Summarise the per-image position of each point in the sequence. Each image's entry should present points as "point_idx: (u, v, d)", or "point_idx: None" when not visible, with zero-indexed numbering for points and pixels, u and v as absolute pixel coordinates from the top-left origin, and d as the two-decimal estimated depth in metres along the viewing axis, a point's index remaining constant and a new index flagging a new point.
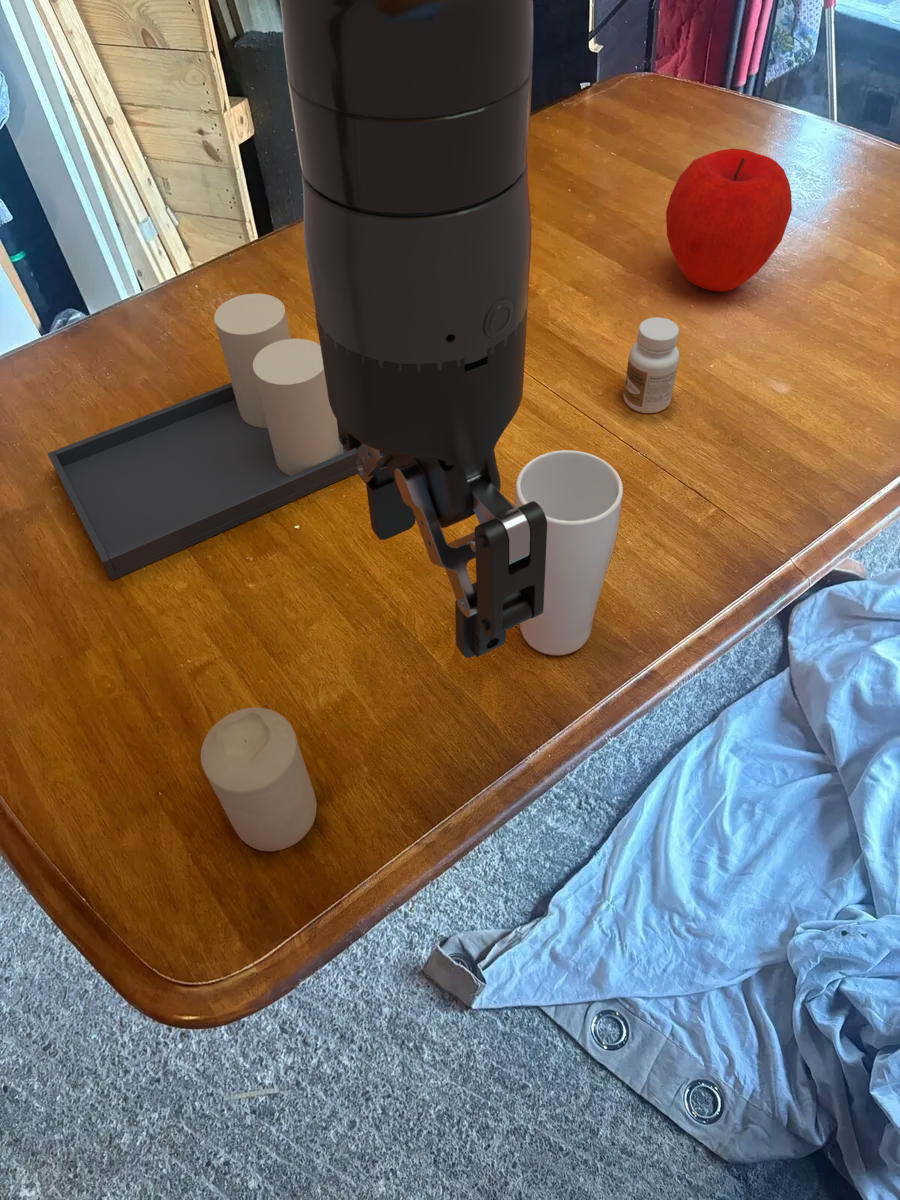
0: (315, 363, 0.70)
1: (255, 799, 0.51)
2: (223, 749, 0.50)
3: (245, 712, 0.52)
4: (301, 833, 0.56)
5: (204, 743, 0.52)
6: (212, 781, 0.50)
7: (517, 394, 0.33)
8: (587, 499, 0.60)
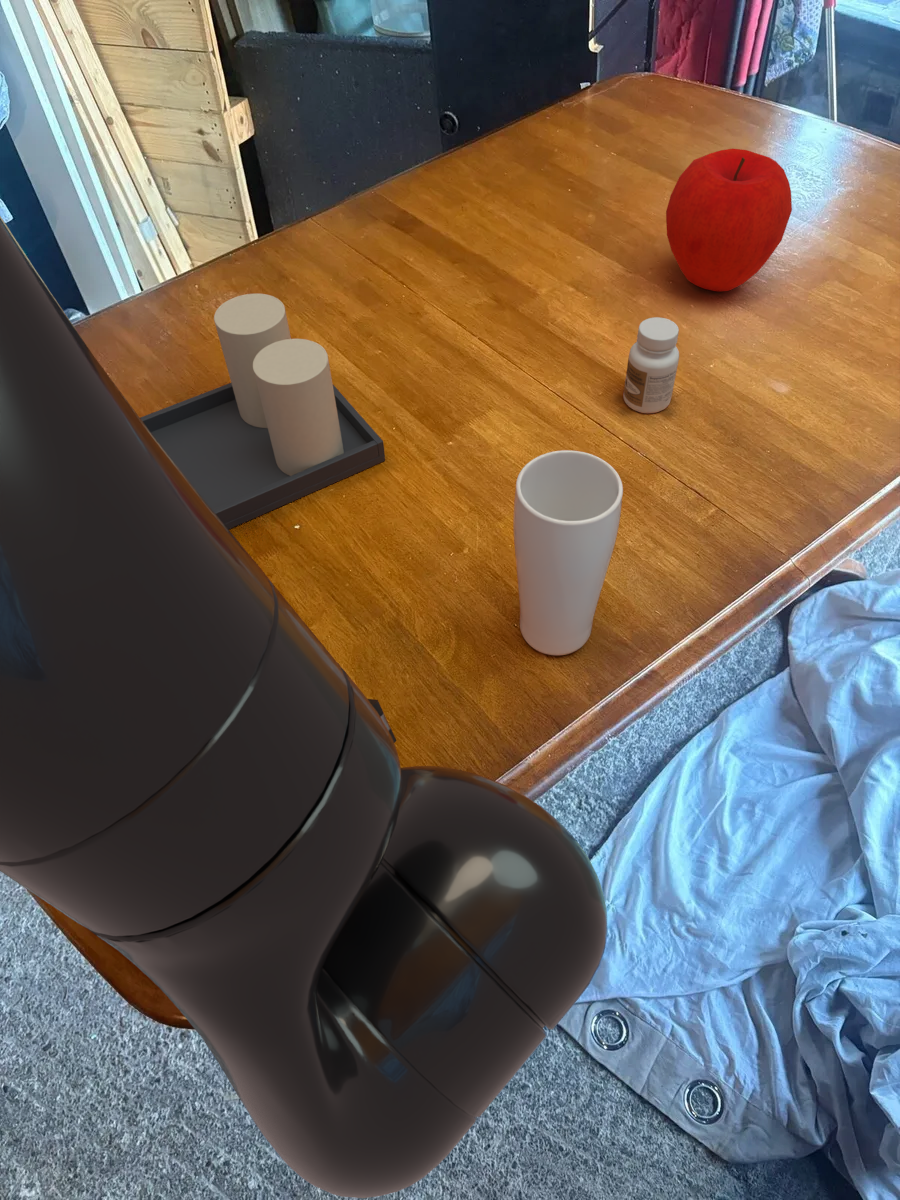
0: (315, 363, 0.70)
1: None
2: None
3: None
4: None
5: None
6: None
7: None
8: (587, 499, 0.60)
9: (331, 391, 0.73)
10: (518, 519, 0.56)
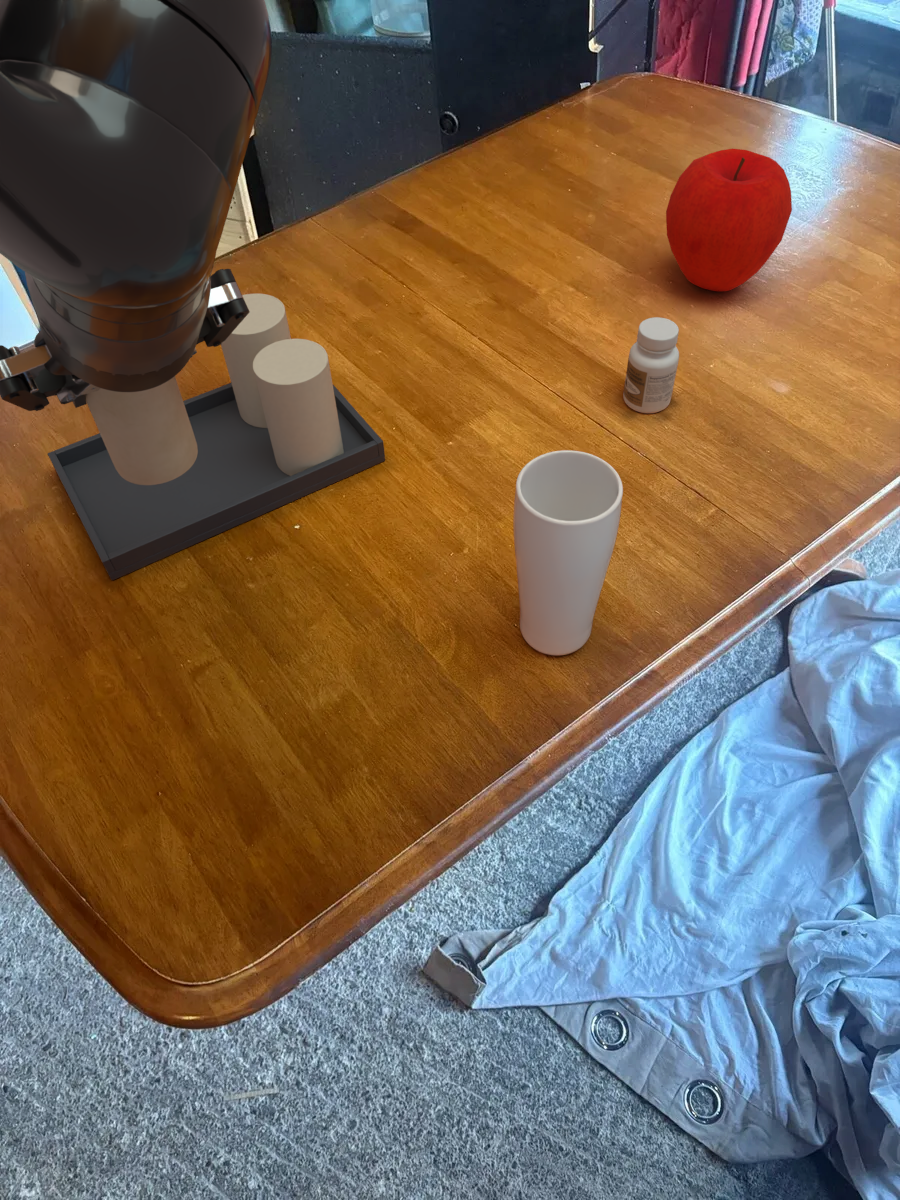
0: (315, 363, 0.70)
1: (120, 393, 0.52)
2: None
3: None
4: (178, 467, 0.57)
5: None
6: None
7: (80, 376, 0.43)
8: (587, 499, 0.60)
9: (331, 391, 0.73)
10: (518, 519, 0.56)
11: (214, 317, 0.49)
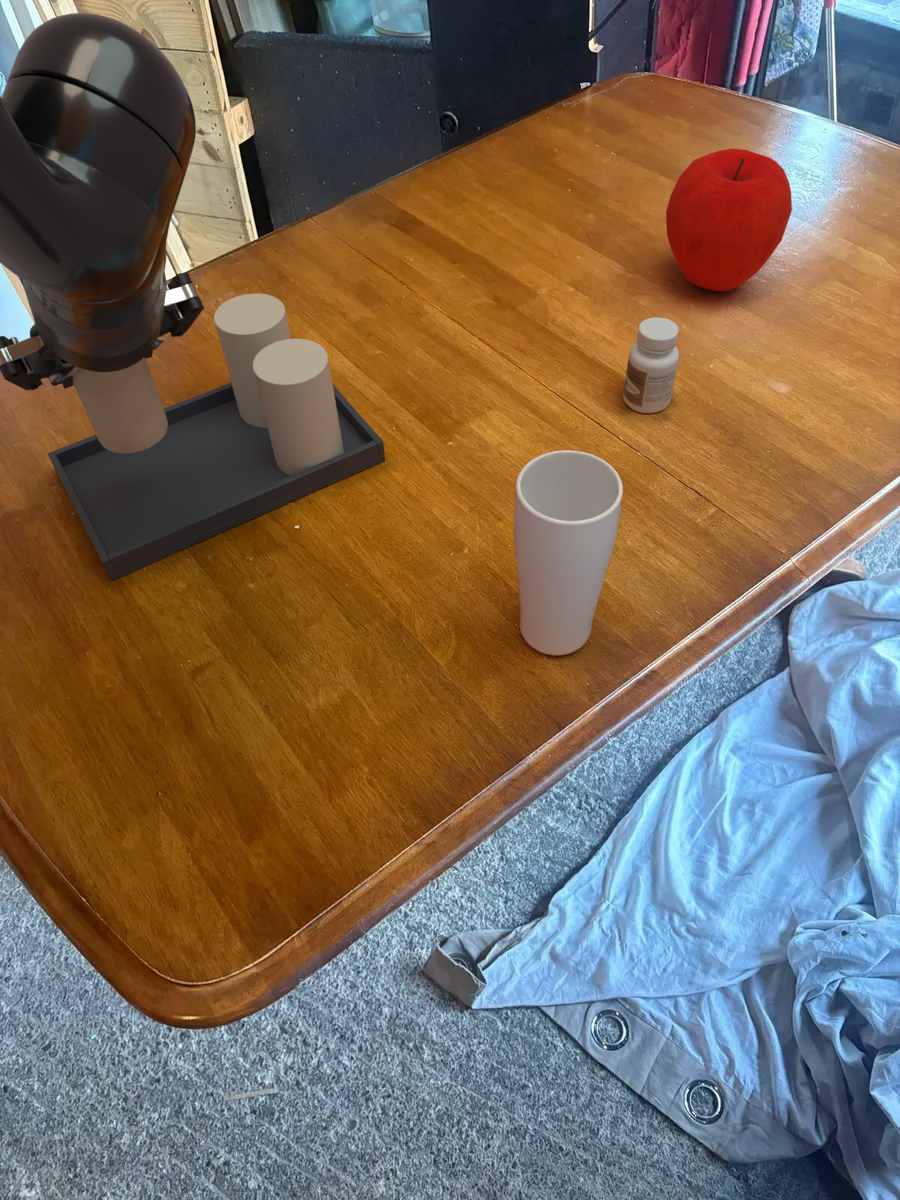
0: (315, 363, 0.70)
1: (100, 375, 0.63)
2: None
3: None
4: (151, 438, 0.69)
5: None
6: None
7: (66, 359, 0.54)
8: (587, 499, 0.60)
9: (331, 391, 0.73)
10: (518, 519, 0.56)
11: (175, 312, 0.61)
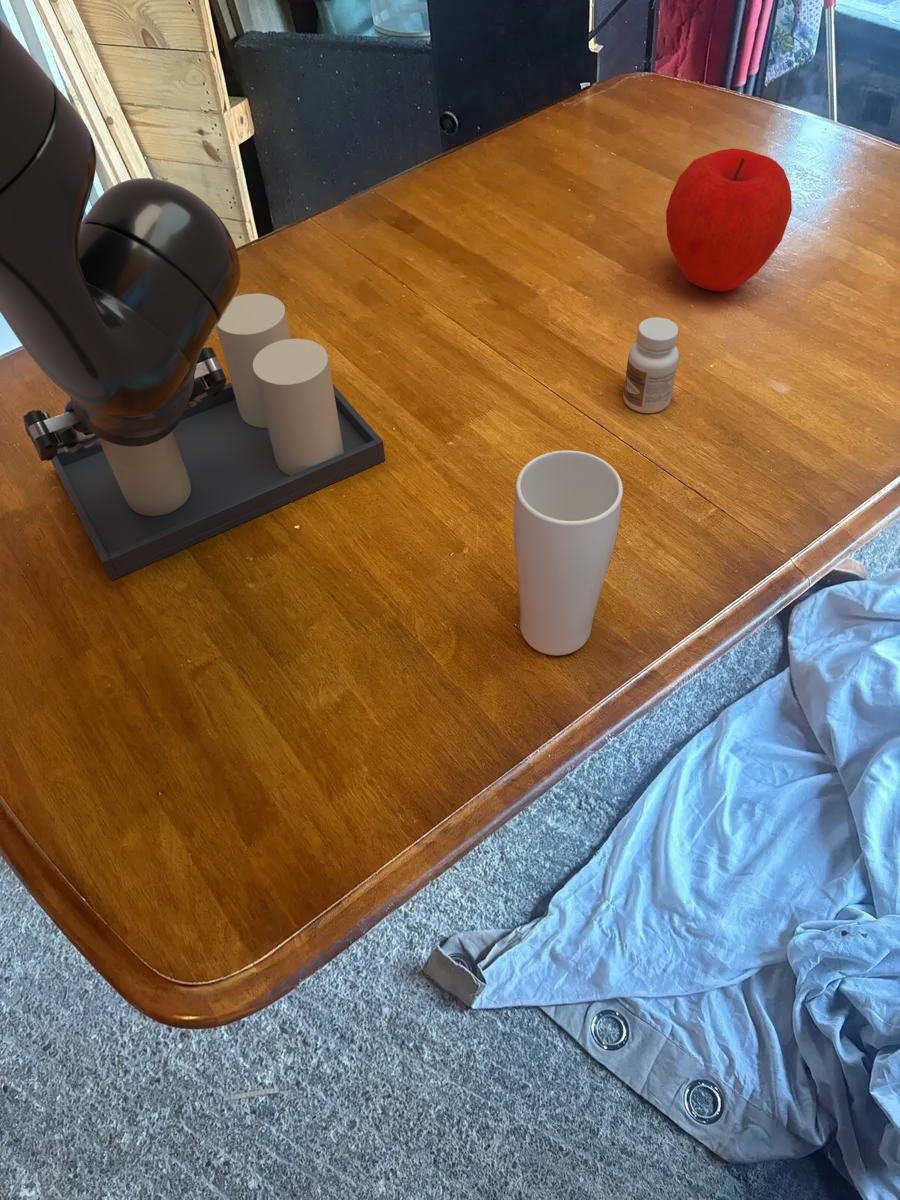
0: (315, 363, 0.70)
1: (132, 449, 0.69)
2: None
3: None
4: (176, 502, 0.74)
5: None
6: None
7: (100, 436, 0.59)
8: (587, 499, 0.60)
9: (331, 391, 0.73)
10: (518, 519, 0.56)
11: (202, 383, 0.65)
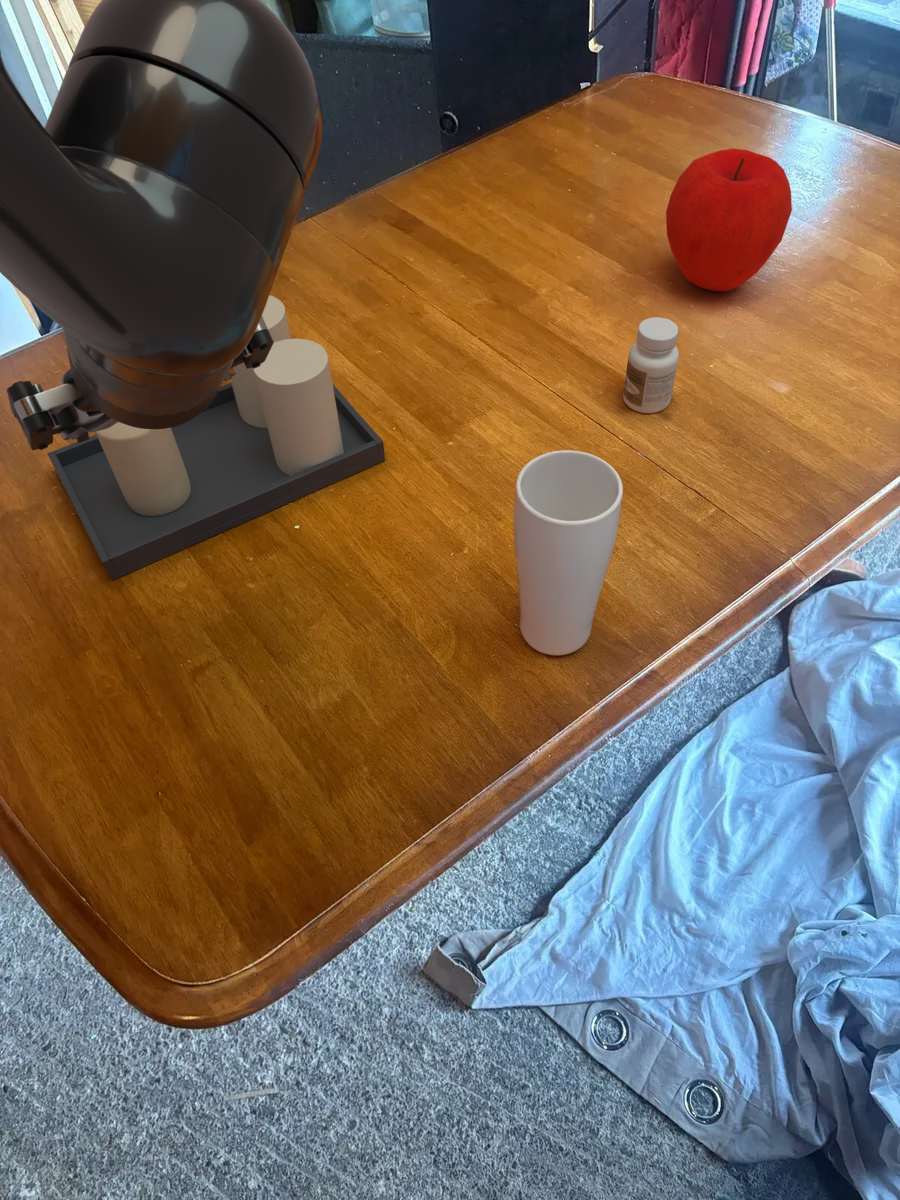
0: (315, 363, 0.70)
1: (132, 449, 0.69)
2: None
3: None
4: (176, 502, 0.74)
5: None
6: (99, 434, 0.68)
7: (110, 415, 0.44)
8: (587, 499, 0.60)
9: (331, 391, 0.73)
10: (518, 519, 0.56)
11: None
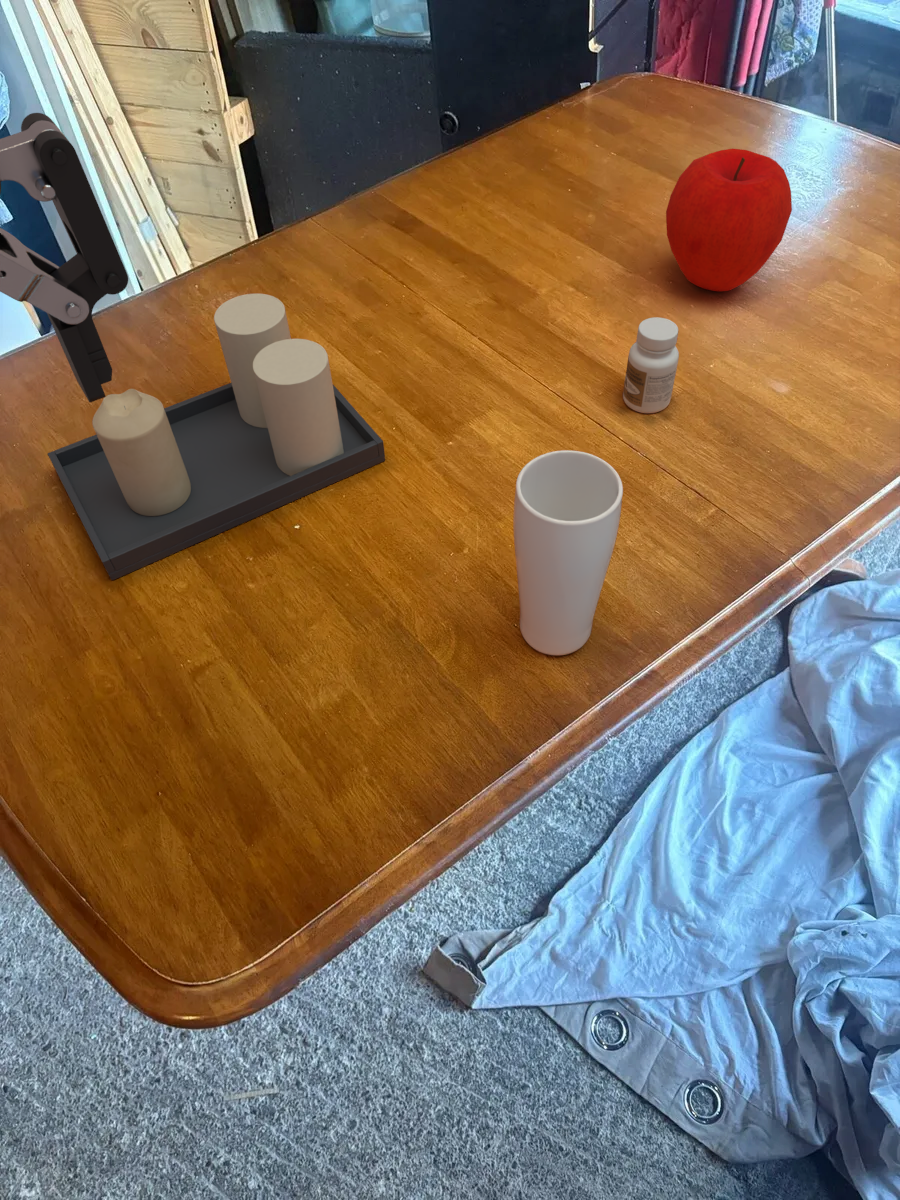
0: (315, 363, 0.70)
1: (132, 449, 0.69)
2: (107, 410, 0.68)
3: None
4: (176, 502, 0.74)
5: None
6: (99, 434, 0.68)
7: None
8: (587, 499, 0.60)
9: (331, 391, 0.73)
10: (518, 519, 0.56)
11: (37, 186, 0.31)
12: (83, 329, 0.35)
